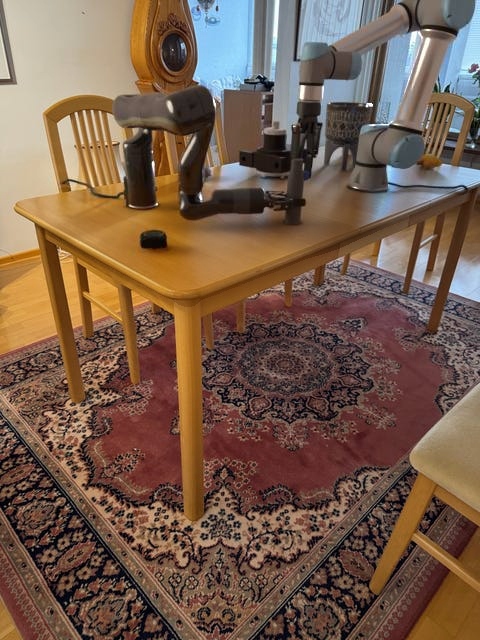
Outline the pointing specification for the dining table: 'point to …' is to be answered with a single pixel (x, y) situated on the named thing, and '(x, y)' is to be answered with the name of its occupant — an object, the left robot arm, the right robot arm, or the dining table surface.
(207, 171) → the rock
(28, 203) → the dining table surface
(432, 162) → the toy
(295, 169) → the bottle
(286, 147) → the mechanical component
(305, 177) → the cap
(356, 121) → the planter
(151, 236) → the tape measure
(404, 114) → the right robot arm
